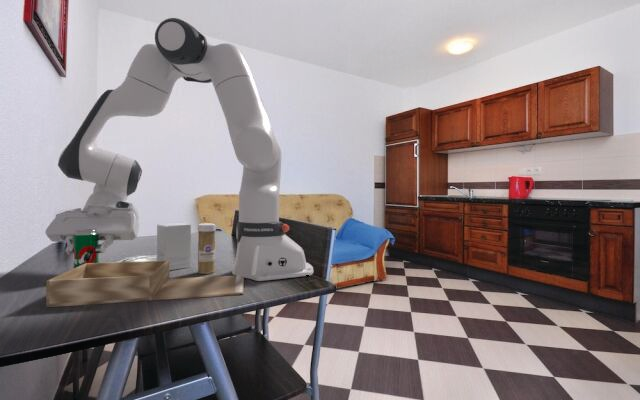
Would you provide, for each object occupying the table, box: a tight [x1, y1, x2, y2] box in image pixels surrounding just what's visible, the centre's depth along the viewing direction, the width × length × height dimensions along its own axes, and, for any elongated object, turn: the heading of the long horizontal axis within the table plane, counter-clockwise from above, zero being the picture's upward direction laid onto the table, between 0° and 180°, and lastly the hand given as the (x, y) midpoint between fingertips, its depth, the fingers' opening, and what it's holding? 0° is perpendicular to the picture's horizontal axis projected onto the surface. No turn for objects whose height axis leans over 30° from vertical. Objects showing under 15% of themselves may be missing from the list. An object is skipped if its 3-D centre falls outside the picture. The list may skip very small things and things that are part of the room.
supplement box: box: [156, 222, 192, 271], centre depth 86 cm, size 7×7×13 cm
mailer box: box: [45, 260, 245, 308], centre depth 67 cm, size 36×14×5 cm, turn 104°
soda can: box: [72, 229, 100, 269], centre depth 75 cm, size 5×5×12 cm
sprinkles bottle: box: [197, 222, 217, 275], centre depth 81 cm, size 5×5×13 cm
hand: (84, 252), depth 74 cm, fingers closed on soda can, 5 cm apart
